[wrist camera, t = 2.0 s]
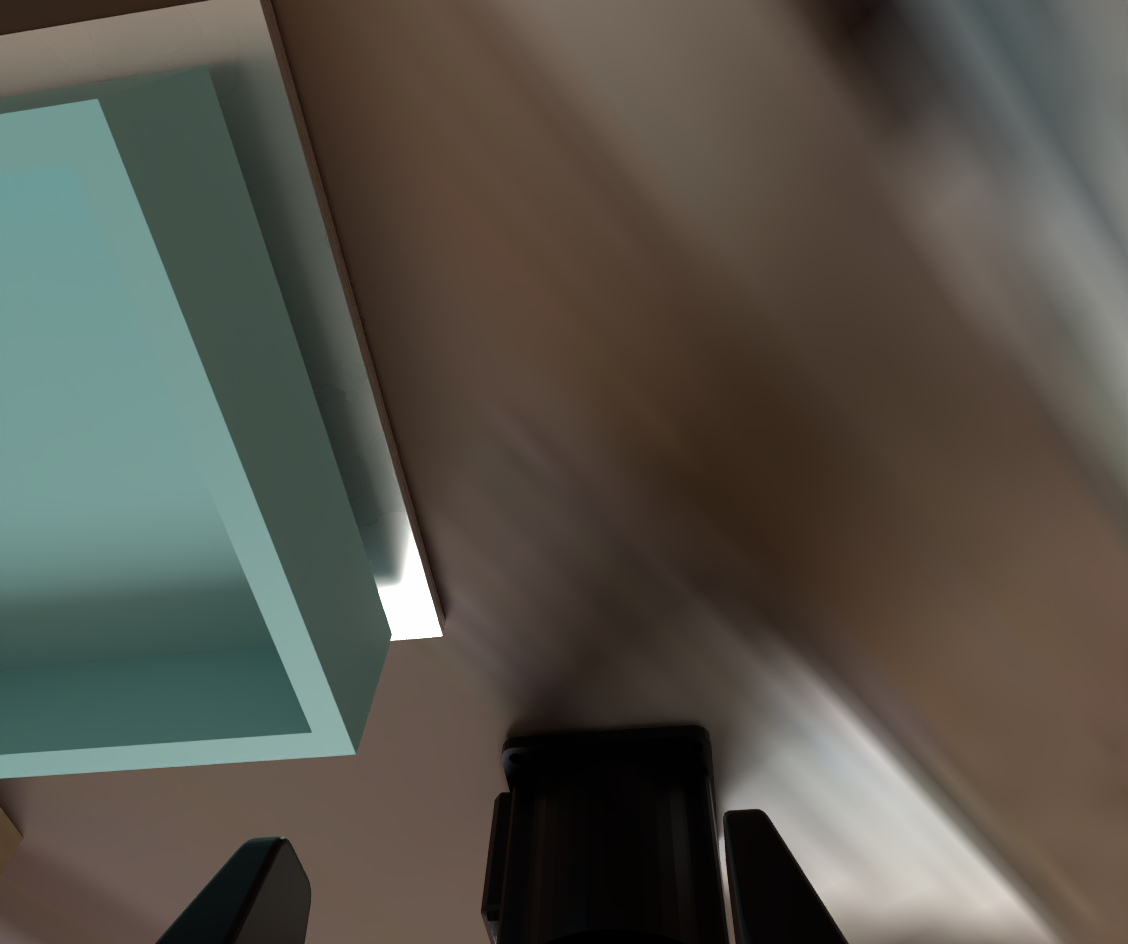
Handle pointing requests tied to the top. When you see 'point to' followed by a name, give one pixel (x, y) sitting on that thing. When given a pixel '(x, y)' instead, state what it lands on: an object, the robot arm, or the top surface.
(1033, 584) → the top surface
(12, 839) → the part
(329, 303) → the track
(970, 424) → the top surface
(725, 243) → the top surface
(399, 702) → the top surface
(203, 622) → the teal storage bin
